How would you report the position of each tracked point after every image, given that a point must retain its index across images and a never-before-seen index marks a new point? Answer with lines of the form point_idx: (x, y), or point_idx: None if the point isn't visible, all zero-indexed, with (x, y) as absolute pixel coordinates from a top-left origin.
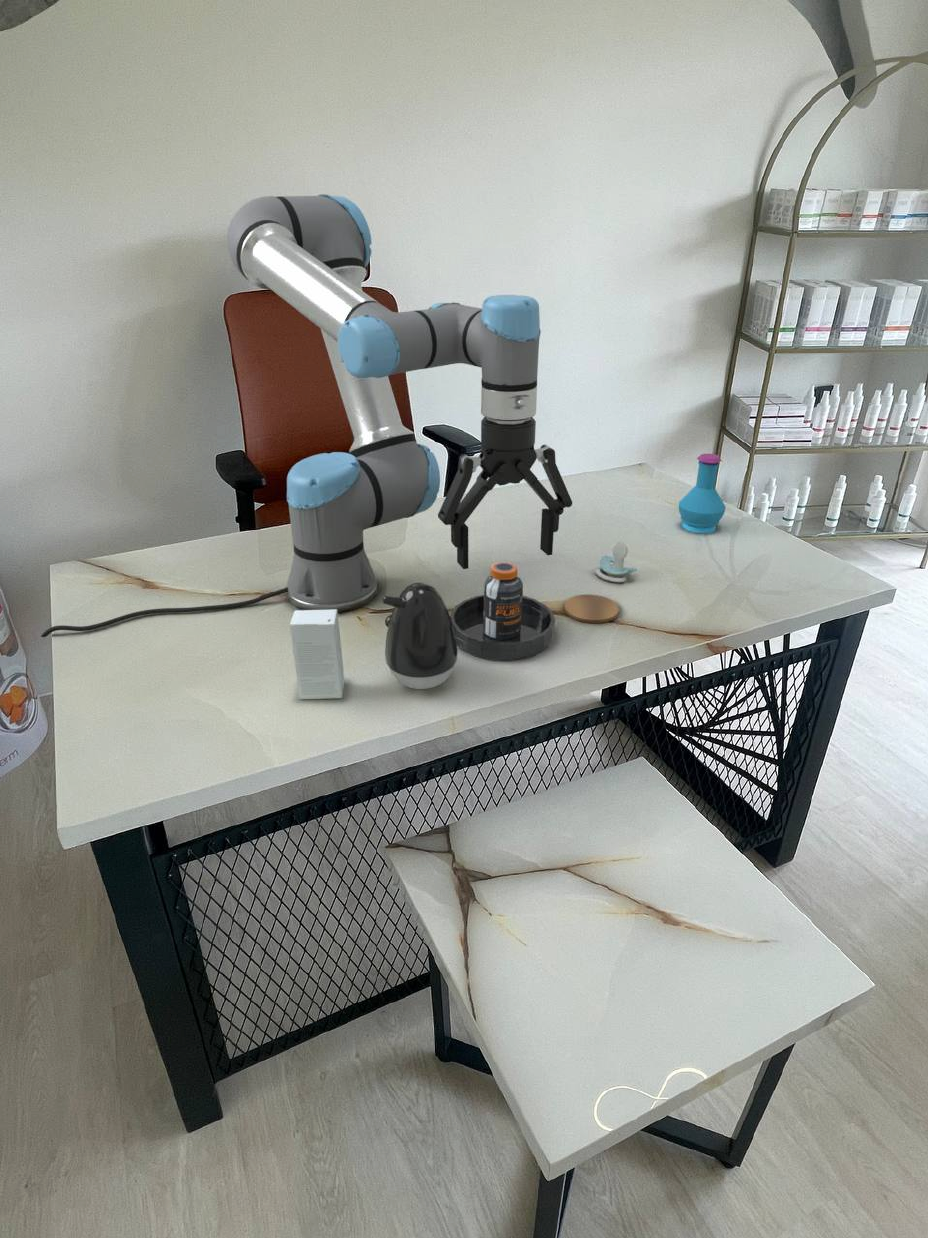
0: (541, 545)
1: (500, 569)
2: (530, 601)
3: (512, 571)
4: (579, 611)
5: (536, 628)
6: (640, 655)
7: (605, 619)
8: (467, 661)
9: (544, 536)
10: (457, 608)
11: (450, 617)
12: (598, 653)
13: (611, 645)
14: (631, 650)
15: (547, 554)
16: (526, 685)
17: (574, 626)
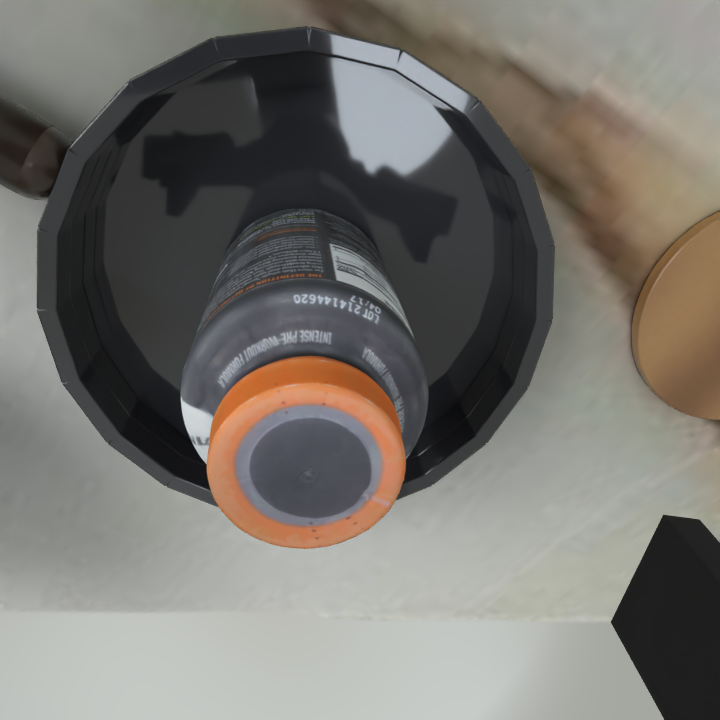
0: (673, 560)
1: (260, 491)
2: (530, 236)
3: (320, 544)
4: (684, 324)
5: (444, 341)
6: (604, 602)
7: (705, 418)
8: (67, 391)
9: (712, 685)
10: (132, 111)
11: (54, 181)
12: (512, 546)
13: (584, 529)
14: (607, 573)
15: (617, 619)
16: (194, 583)
17: (587, 380)
